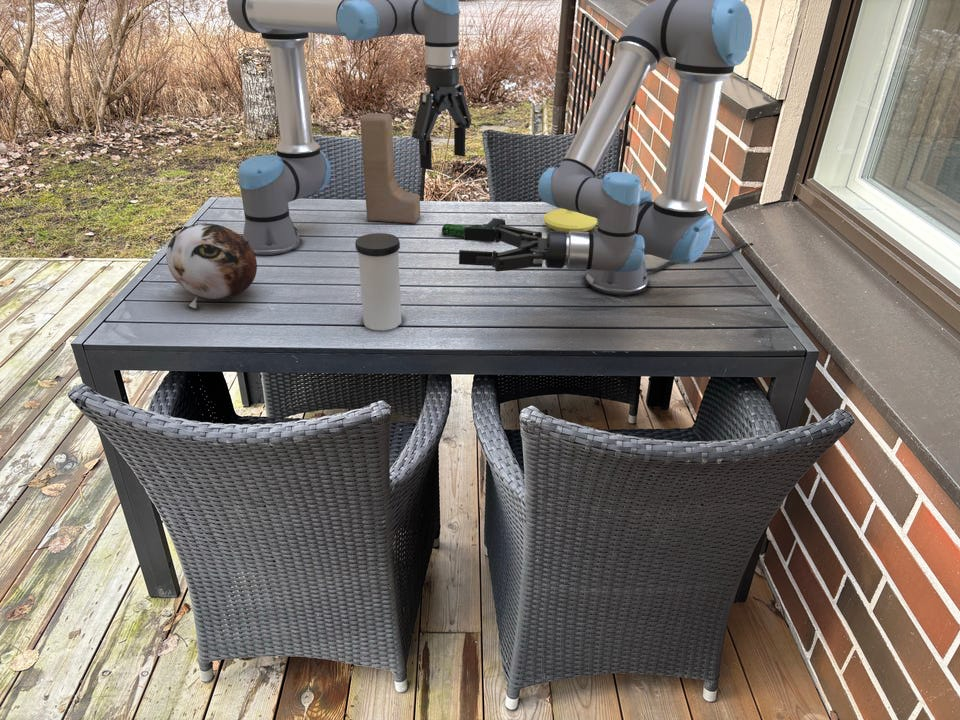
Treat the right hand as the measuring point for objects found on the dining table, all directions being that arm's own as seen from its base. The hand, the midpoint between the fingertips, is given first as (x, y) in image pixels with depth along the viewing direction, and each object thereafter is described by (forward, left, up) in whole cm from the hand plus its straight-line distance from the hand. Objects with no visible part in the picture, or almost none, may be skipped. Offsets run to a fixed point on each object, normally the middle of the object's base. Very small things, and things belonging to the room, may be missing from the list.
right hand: (461, 244), depth 146 cm
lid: (+15, -10, -1) cm, 18 cm away
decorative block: (-5, -73, -20) cm, 76 cm away
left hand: (-7, -32, +8) cm, 33 cm away
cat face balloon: (+48, -36, -20) cm, 63 cm away
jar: (+15, -10, -20) cm, 27 cm away
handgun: (-25, -55, -20) cm, 63 cm away
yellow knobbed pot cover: (-52, -48, -20) cm, 73 cm away
